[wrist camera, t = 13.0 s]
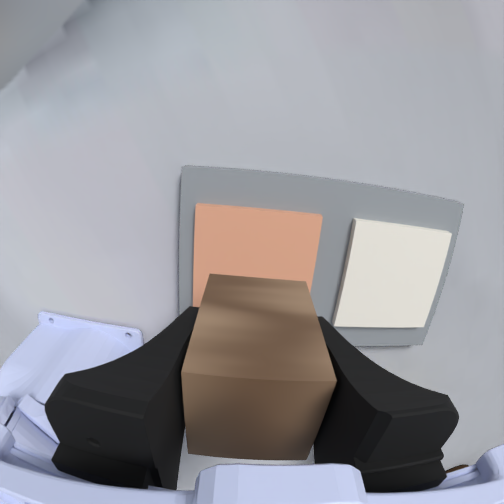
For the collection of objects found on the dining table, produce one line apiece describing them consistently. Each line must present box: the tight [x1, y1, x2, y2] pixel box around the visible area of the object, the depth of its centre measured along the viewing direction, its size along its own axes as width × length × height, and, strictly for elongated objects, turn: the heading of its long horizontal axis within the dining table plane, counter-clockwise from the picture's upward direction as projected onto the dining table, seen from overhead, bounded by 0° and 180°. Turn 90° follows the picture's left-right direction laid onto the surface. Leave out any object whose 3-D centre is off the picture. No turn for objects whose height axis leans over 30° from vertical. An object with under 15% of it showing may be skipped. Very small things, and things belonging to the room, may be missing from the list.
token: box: [181, 274, 337, 460], centre depth 11 cm, size 4×4×6 cm
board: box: [179, 165, 464, 346], centre depth 19 cm, size 18×11×2 cm, turn 85°
